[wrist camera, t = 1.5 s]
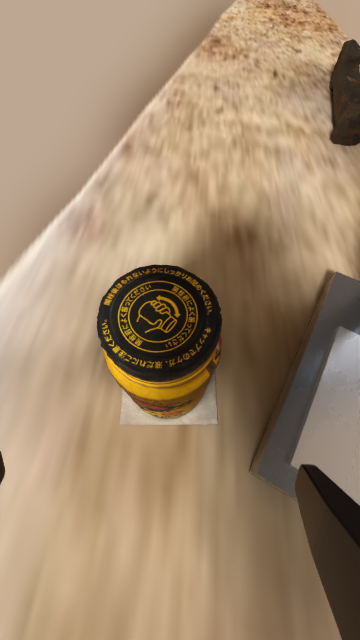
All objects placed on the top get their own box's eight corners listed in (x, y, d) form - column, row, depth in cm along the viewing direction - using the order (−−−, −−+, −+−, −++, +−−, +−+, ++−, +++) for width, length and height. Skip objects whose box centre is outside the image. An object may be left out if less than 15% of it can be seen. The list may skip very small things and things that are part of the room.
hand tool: (359, 150, 35) (384, 110, 31) (327, 145, 35) (348, 105, 31) (352, 76, 43) (371, 36, 39) (326, 73, 43) (343, 33, 39)
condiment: (120, 424, 20) (57, 397, 10) (128, 322, 24) (90, 217, 13) (217, 424, 20) (265, 397, 10) (211, 322, 24) (241, 218, 13)
